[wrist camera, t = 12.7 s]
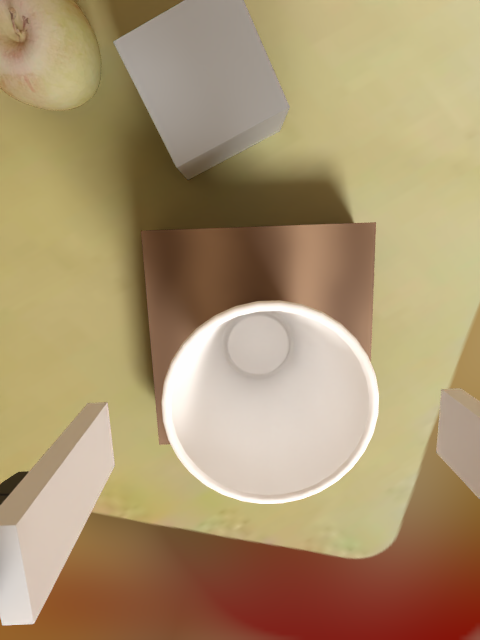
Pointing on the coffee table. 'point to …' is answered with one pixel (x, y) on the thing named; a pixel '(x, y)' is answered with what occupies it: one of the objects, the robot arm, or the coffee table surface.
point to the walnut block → (253, 279)
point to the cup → (270, 402)
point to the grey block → (204, 81)
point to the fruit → (48, 53)
